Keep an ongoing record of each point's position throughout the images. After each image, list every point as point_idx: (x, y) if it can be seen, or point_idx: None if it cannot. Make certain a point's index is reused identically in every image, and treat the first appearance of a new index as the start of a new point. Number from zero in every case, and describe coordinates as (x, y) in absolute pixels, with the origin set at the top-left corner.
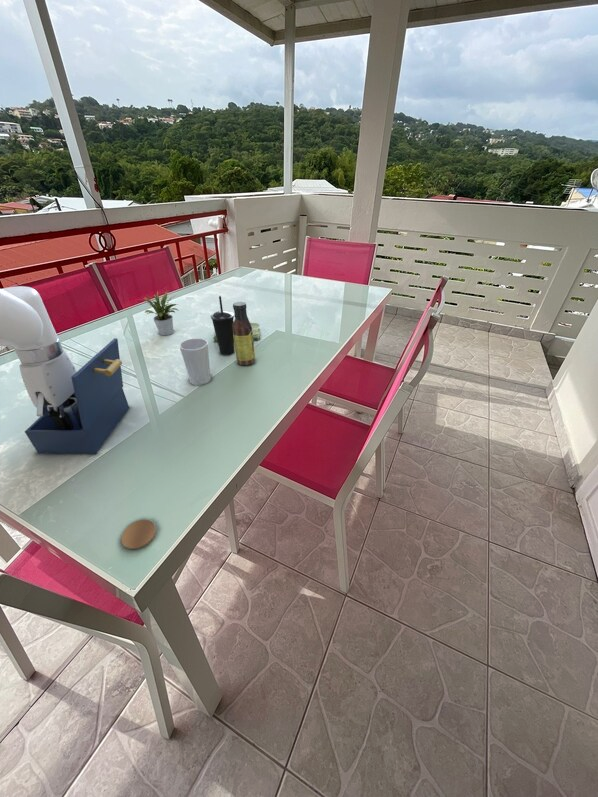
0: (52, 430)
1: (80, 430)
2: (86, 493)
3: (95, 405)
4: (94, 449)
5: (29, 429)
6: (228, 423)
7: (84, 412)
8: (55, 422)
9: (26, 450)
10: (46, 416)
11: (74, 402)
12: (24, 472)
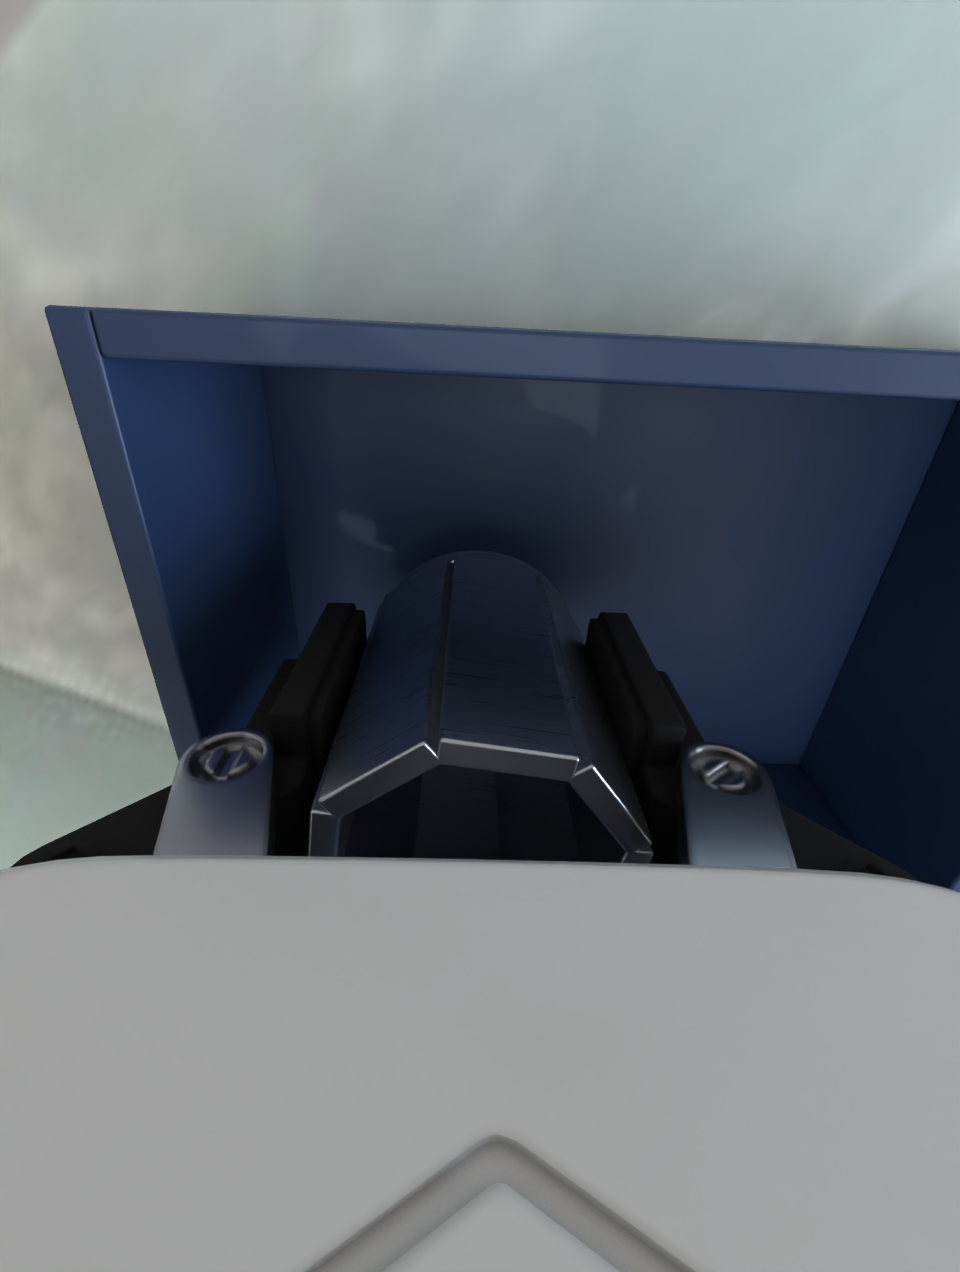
0: (176, 678)
1: None
2: (28, 810)
3: None
4: None
5: (114, 357)
6: None
7: None
8: (303, 654)
9: (262, 128)
10: (62, 843)
11: (583, 852)
12: (11, 341)
